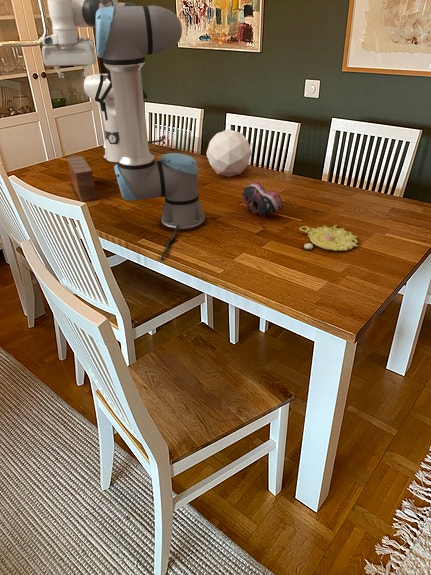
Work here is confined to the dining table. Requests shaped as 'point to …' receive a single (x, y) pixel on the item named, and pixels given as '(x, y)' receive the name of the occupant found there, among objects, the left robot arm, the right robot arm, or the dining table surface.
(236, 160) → the sphere
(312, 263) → the dining table surface
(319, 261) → the dining table surface
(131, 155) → the right robot arm
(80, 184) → the box
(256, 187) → the athletic shoe
